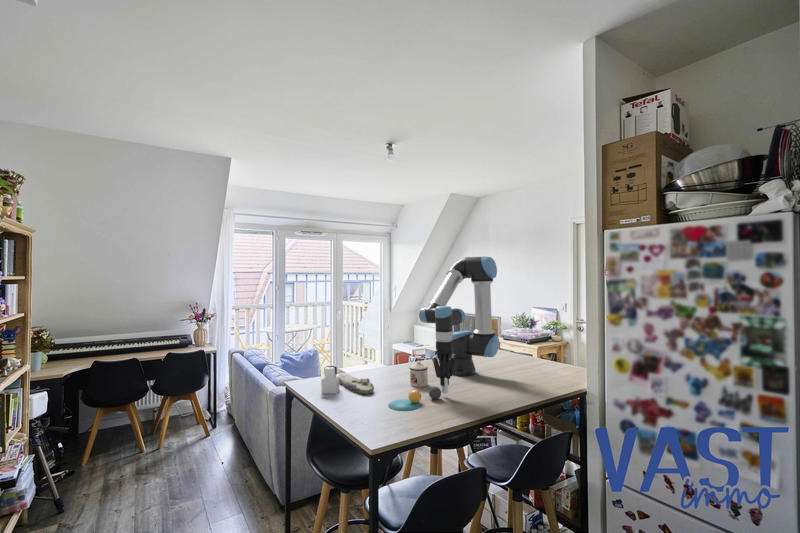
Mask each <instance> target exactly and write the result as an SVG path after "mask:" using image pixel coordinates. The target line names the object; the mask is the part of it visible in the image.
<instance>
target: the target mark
mask: <svg viewBox="0 0 800 533" xmlns="http://www.w3.org/2000/svg"><path fill="white" fill-rule="evenodd" d="M387 406H388V408H389V409H391V410H393V411H394V410H395V411H399V412H400V411H401V412H407V411H409V412H410V411H415V410H418V409H420V408H421V406H422V403H421V402H420V401H419V402H418V403H412V402H411V401H410V400H409V398H408V399H407V398H406V399H405V398H403V399H395V400H392V401H390V402H388V405H387Z"/></svg>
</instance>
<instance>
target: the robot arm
mask: <svg viewBox="0 0 800 533" xmlns="http://www.w3.org/2000/svg"><path fill="white" fill-rule="evenodd" d="M497 275H498V268H497V264H496V260H494V258H493V257H491V256H484V255H483V256H466V257H463V258H460V259H458V260H457V261H456V262H454V263H453V264H452V265H451V266H450V267H449V269H448V270H447V272H446V276H445V278H444V280H443V281H442V282H441V285H440V287H439V288H438V290H437V291H436V293H435V294H434V297H433V298H432V300H431V301H430V303H429V305H428V306H427V307H421V308H420V310H419V312H418V317H419V321H421V322H422V323H424V324H435V340H436V341H435V350H436V351H435V355H434V356H431V357H430V359H431V360H432V362H433V368H434V373H435V376H436V378H439V379H440V381H439V382H440V386H441V394H442V393H443V394H444V395H445V394H449V385H450V379H451V377H453V376H460V377H466V376H473V375H475V374H476V367H475V363H474V360H473V356H477V357H483V358H494V357H495V356H497V353H498V351H499V348H500V338H499V336H498V335H496V331H495V330H494V329H493V328H492V327H493V324H492V323H493V321H492V296H491V294H492V292H491V291H492V290H491V285H492V283H493V282H494V279H495V278H497ZM465 279H471V280H470V281H471V284H473V285H474V286H473V287H474V288H473V290H474V292H473V294H474V318H475V319H474V320H475V329H474V330H473V331H472V330H460V331H455V332H453V326H457V325H458V326H459V325H460V324H462V323H464V322H465V320H466V313H465V311H464V310H463V309H461V308H452V307H451V306H448V303H449V301H450V299H451V298H452V296H453V294H454V293H455V291H456V289H457V287H458V286H459V284H461V283H462V282H463V280H465Z"/></svg>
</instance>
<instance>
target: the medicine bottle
mask: <svg viewBox="0 0 800 533" xmlns="http://www.w3.org/2000/svg"><path fill="white" fill-rule="evenodd" d="M337 370H338V368H337V366H335V365H327V366H325V367H324V368H323V377H322V378H321V394H322V395H336V394H337V393H338V392H339V391H340V383H339V375H340V374H338V373H337V372H338V371H337Z"/></svg>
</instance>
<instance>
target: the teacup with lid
mask: <svg viewBox="0 0 800 533" xmlns="http://www.w3.org/2000/svg"><path fill="white" fill-rule="evenodd" d="M428 369H429V368H428V365H426V364H424V363H421V361H419V360H417V361H416V363H415V364H412V365H410V367H409V372H410V373H409V374H410V381H409V382H410V386H412V387H415V388H422V387H423V388H424V387H427V386H428Z"/></svg>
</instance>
